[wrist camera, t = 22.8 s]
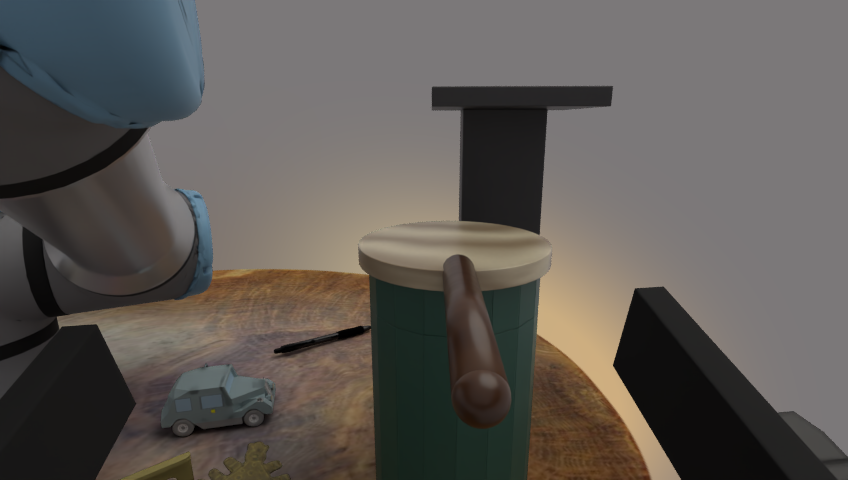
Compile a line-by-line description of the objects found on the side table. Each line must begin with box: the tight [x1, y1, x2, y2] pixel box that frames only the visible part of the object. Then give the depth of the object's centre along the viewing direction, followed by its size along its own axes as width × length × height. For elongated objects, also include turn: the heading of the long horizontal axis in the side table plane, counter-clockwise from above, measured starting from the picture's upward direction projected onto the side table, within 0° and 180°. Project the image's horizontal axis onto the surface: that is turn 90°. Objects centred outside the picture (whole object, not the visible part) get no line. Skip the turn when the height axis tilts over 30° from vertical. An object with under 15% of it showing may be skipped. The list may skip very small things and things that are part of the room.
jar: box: [369, 275, 540, 480], centre depth 33 cm, size 11×11×20 cm
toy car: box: [161, 364, 276, 436], centre depth 47 cm, size 6×10×5 cm, turn 103°
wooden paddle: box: [358, 221, 552, 429], centre depth 25 cm, size 24×13×2 cm, turn 179°
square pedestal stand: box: [432, 86, 613, 235], centre depth 46 cm, size 14×14×32 cm
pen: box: [274, 326, 371, 354], centre depth 62 cm, size 14×2×1 cm
